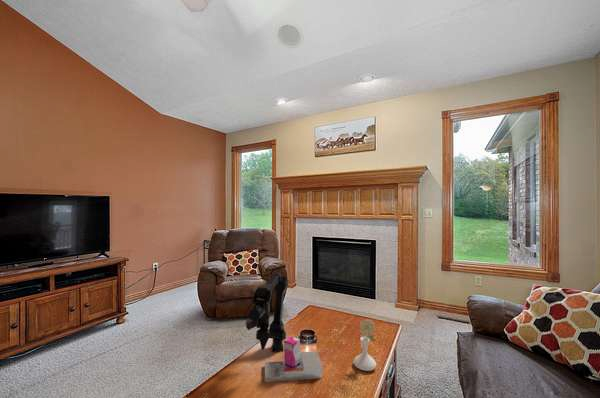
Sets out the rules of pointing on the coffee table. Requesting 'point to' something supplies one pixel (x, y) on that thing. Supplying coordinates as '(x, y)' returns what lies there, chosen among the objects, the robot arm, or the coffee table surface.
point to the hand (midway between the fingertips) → (262, 344)
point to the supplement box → (292, 351)
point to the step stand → (295, 368)
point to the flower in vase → (364, 359)
